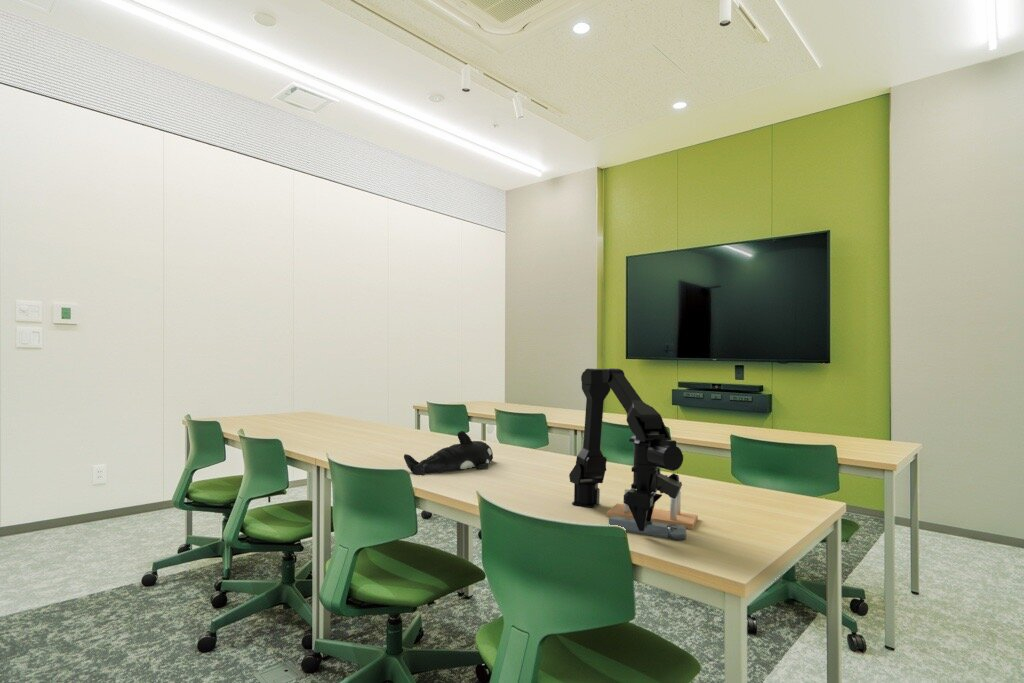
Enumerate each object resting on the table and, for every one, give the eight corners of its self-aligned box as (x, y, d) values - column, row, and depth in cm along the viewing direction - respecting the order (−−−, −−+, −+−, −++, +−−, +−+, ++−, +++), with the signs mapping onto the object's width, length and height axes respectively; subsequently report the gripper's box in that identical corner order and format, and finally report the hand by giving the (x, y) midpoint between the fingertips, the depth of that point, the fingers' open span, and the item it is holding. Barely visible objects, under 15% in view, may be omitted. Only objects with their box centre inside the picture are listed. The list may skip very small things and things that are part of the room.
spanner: (607, 529, 131) (608, 519, 131) (612, 524, 135) (612, 514, 135) (684, 541, 123) (684, 530, 123) (687, 536, 127) (687, 525, 127)
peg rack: (607, 516, 142) (607, 489, 143) (617, 507, 151) (617, 482, 152) (692, 529, 132) (692, 500, 133) (697, 519, 141) (697, 492, 142)
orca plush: (511, 467, 209) (511, 430, 210) (416, 478, 185) (418, 436, 186) (482, 458, 227) (483, 424, 227) (392, 467, 203) (394, 429, 204)
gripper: (672, 473, 118) (671, 544, 117) (685, 460, 134) (684, 522, 134) (623, 467, 123) (622, 535, 122) (641, 456, 139) (640, 516, 139)
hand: (644, 527), depth 129 cm, fingers open, 6 cm apart
